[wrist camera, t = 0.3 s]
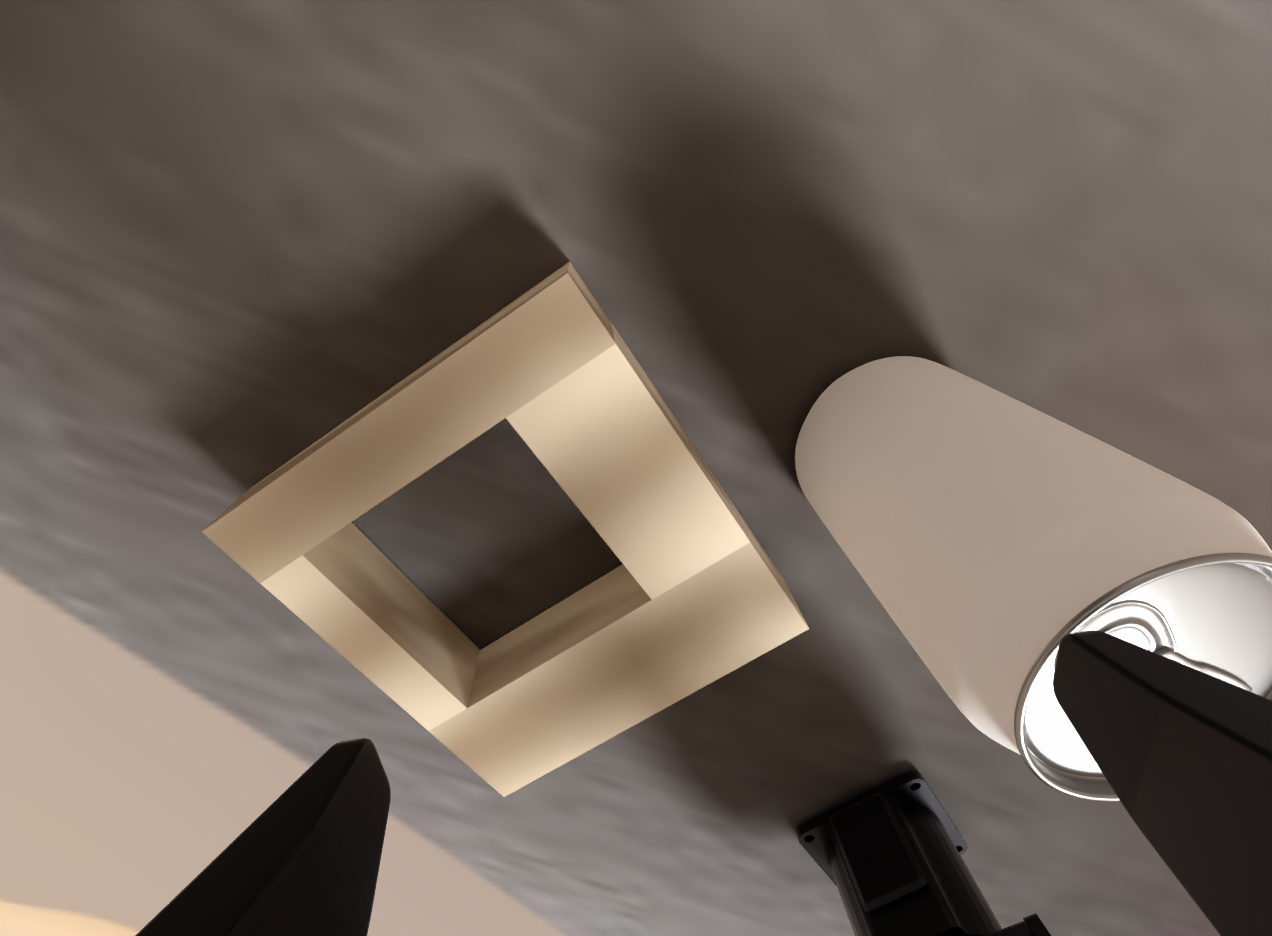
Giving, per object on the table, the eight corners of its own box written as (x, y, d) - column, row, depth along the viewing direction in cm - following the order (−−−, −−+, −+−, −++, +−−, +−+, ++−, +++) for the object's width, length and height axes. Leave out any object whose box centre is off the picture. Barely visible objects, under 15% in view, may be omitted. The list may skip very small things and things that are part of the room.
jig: (783, 578, 24) (809, 628, 21) (512, 733, 26) (503, 797, 23) (569, 260, 19) (567, 273, 16) (251, 487, 21) (201, 532, 18)
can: (871, 314, 20) (1214, 462, 9) (1008, 412, 22) (1432, 632, 11) (753, 473, 22) (920, 750, 11) (888, 550, 24) (1145, 855, 13)
